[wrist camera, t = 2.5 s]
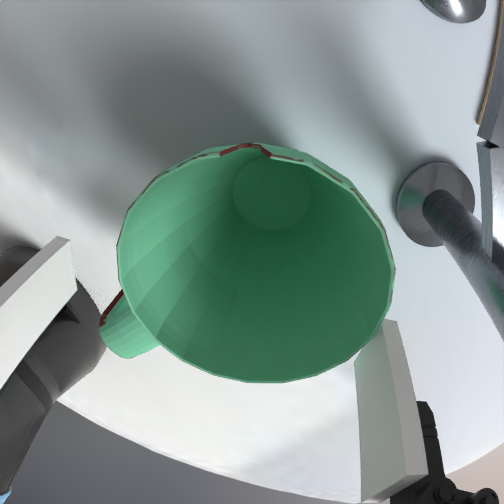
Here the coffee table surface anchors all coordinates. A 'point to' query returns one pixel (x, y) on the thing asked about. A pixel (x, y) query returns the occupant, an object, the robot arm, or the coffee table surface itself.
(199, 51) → the coffee table surface
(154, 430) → the coffee table surface
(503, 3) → the coaster
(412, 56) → the coffee table surface
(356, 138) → the coffee table surface
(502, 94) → the metal wall bracket
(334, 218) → the mug
